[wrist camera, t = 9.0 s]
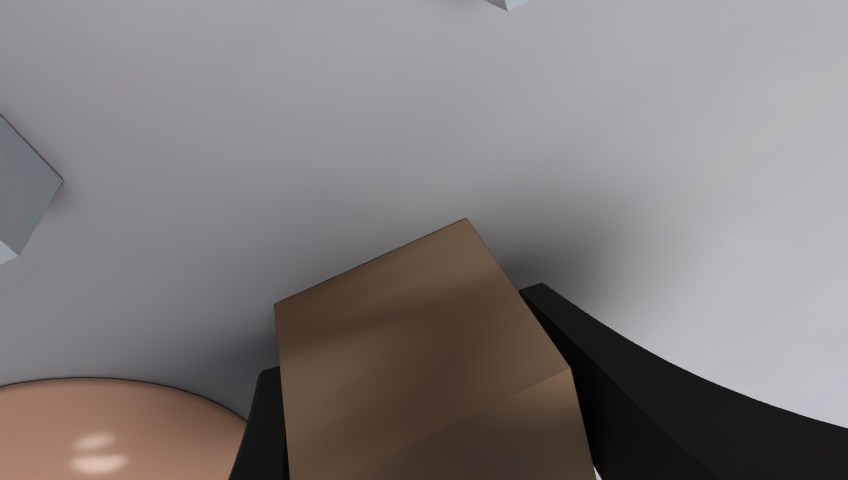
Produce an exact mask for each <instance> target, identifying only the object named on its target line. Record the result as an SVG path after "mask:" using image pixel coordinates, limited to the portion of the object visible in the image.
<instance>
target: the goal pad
mask: <svg viewBox="0 0 848 480" xmlns="http://www.w3.org/2000/svg"><path fill="white" fill-rule="evenodd" d="M246 424H247V423H246V422H245V421H244V420H243V419H241V418H240V417H239V416H238V415H236V414H234V413H232V412H231V411H229V410H227V409H225V408H224V407H222V406H220V405H218V404H216V403H214V402H211V401H209V400H207V399H204V398H202V397H200V396H197V395H194V394H191V393H187V392H184V391H181V390H178V389H174V388H170V387H165V386H160V385H155V384H150V383H145V382H138V381H129V380H119V379H102V378H70V379H53V380H42V381H34V382H27V383H20V384H13V385H8V386H3V387H0V480H228V478H229V475H230V473H231V470H232V468H233V465H234V462H235V459H236V456H237V453H238V450H239V447H240V444H241V440H242V437H243V434H244V431H245V428H246Z"/></svg>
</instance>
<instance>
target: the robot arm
mask: <svg viewBox="0 0 848 480" xmlns="http://www.w3.org/2000/svg"><path fill="white" fill-rule="evenodd" d="M519 294H520V296H521V297H522V299H523V300H524V302H525V303H526V305H527V306H528V307H529V309H530V310H531V312H532V313H533V315H534V316H535V318H536V319H537V320H538V322H539V323H540V325H541V326H542V328H543V329H544V331H545V332H546V333H547V335H548V336H549V338H550V339H551V341H552V342H553V344H554V345H555V346H556V348H557V349H558V351H559V352H560V354H561V355H562V357H563V358H564V359H565V361H566V362H567V364H568V365H569V367H570V368H571V372H572V377H573V381H574V385H575V389H576V394H577V398H578V402H579V407H580V411H581V415H582V420H583V424H584V428H585V432H586V437H587V441H588V445H589V450H590V454H591V458H592V462H593V465H594V467H595V469H596V470H597V472H598V474H599V475H600V477H601V479H602V480H848V428H844V427H841V426H837V425H833V424H830V423H826V422H823V421H819V420H815V419H812V418H809V417H806V416H802V415H799V414H796V413H793V412H790V411H787V410H784V409H781V408H778V407H775V406H772V405H769V404H767V403H764V402H761V401H758V400H756V399H753V398H750V397H748V396H745V395H743V394H740V393H738V392H735V391H733V390H730V389H728V388H725V387H723V386H720V385H717V384H715V383H713V382H711V381H708V380H706V379H704V378H701V377H699V376H697V375H695V374H693V373H691V372H689V371H687V370H684V369H682V368H680V367H678V366H676V365H674V364H672V363H670V362H668V361H666V360H664V359H662V358H660V357H659V356H657V355H655V354H653V353H651V352H649V351H648V350H646V349H644V348H642V347H641V346H639V345H637V344H635V343H634V342H632V341H630V340H628V339H627V338H625V337H623V336H622V335H620V334H619V333H617V332H615V331H614V330H612V329H611V328H609V327H607V326H606V325H604V324H603V323H601V322H599V321H598V320H596V319H595V318H593V317H592V316H590V315H589V314H587V313H586V312H584V311H583V310H581V309H580V308H578V307H577V306H576V305H574V304H573V303H571V302H570V301H568V300H567V299H565V298H564V297H563V296H561V295H560V294H558V293H557V292H555V291H554V290H553V289H551V288H550V287H548V286H547V285H545V284H543V283H540V284H536V285H533V286H530V287H527V288H524V289H521V290H519ZM228 480H290V472H289V461H288V450H287V439H286V428H285V417H284V406H283V395H282V384H281V373H280V366H277V367H274V368H271V369H267V370H264V371H262V372H261V373H260V375H259V376H258V381H257V386H256V390H255V394H254V399H253V403H252V406H251V410H250V414H249V417H248V421H247V424H246V428H245V431H244V434H243V437H242V440H241V444H240V447H239V450H238V453H237V456H236V459H235V462H234V465H233V468H232V470H231V473H230V475H229V478H228Z"/></svg>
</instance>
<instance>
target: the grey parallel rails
mask: <svg viewBox="0 0 848 480" xmlns="http://www.w3.org/2000/svg"><path fill="white" fill-rule="evenodd" d="M484 1H487V2H489V3H491V4H493V5H495V6H497V7H499V8H502V9H504V10H506V11H510V10H512V9H514V8H516V7H518V6H520V5H522V4H524V3H526V2H528V1H530V0H484ZM62 181H63V180H62V179H61V178H60V177H59V176H58V175H57V174H56V173H55V171H54V170H53V169H52V168H51V167H50V166H49V165H48V164H47V163H46V162H45V161H44V160H43V159H42V158H41V157H40V156H39V155H38V154H37V153H36V152H35V151H34V150H33V149H32V148H31V147H30V146H29V145H28V144H27V142H26V141H25V140H24V139H23V138H22V137H21V136H20V135H19V134H18V133H17V132H16V131H15V130H14V129H13V128H12V127H11V126H10V125H9V124H8V123H7V122H6V121H5V120H4V119H3V118H2V117H1V116H0V265H2V264H4V263H6V262H8V261H10V260H12V259H14V258H16V257H18V256H19V254H20V253H21V251H22V249H23V248H24V246H25V244H26V243H27V241H28V239H29V237H30V236H31V234H32V232H33V231H34V229H35V227H36V225H37V224H38V222H39V220H40V219H41V217H42V215H43V214H44V212H45V210H46V208H47V207H48V205H49V203H50V202H51V200H52V198H53V196H54V195H55V193H56V191H57V190H58V188H59V186H60V184H61V183H62Z"/></svg>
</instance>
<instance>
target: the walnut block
mask: <svg viewBox="0 0 848 480" xmlns="http://www.w3.org/2000/svg"><path fill="white" fill-rule="evenodd" d="M274 307H275V318H276V329H277V340H278V351H279V362H280V373H281V384H282V395H283V406H284V417H285V428H286V439H287V450H288V461H289V472H290V480H596V475H595V471H594V467H593V462H592V458H591V454H590V450H589V445H588V441H587V437H586V432H585V428H584V424H583V420H582V415H581V411H580V407H579V402H578V398H577V394H576V389H575V385H574V381H573V377H572V372H571V368H570V367H569V365H568V364H567V362H566V361H565V359H564V358H563V357H562V355H561V354H560V352H559V351H558V349H557V348H556V346H555V345H554V344H553V342H552V341H551V339H550V338H549V336H548V335H547V333H546V332H545V331H544V329H543V328H542V326H541V325H540V323H539V322H538V320H537V319H536V318H535V316H534V315H533V313H532V312H531V310H530V309H529V307H528V306H527V305H526V303H525V302H524V300H523V299H522V297H521V296H520V294H519V293H518V292H517V290H516V289H515V287H514V286H513V284H512V283H511V281H510V280H509V279H508V277H507V276H506V274H505V273H504V271H503V270H502V268H501V267H500V266H499V264H498V263H497V261H496V260H495V258H494V257H493V255H492V254H491V252H490V251H489V250H488V248H487V247H486V245H485V244H484V242H483V241H482V239H481V238H480V237H479V235H478V234H477V232H476V231H475V229H474V228H473V226H472V225H471V224H470V222H469V221H468V219H467V218H465V219H463V220H461V221H459V222H456V223H454V224H452V225H450V226H447V227H445V228H443V229H441V230H439V231H436V232H434V233H432V234H430V235H427V236H425V237H423V238H421V239H419V240H416V241H414V242H412V243H410V244H407V245H405V246H403V247H401V248H399V249H396V250H394V251H392V252H390V253H388V254H385V255H383V256H381V257H379V258H376V259H374V260H372V261H370V262H368V263H365V264H363V265H361V266H359V267H356V268H354V269H352V270H350V271H348V272H345V273H343V274H341V275H339V276H336V277H334V278H332V279H330V280H328V281H325V282H323V283H321V284H319V285H316V286H314V287H312V288H310V289H308V290H305V291H303V292H301V293H299V294H297V295H294V296H292V297H290V298H288V299H285V300H283V301H281V302H279V303H277V304H274Z"/></svg>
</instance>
